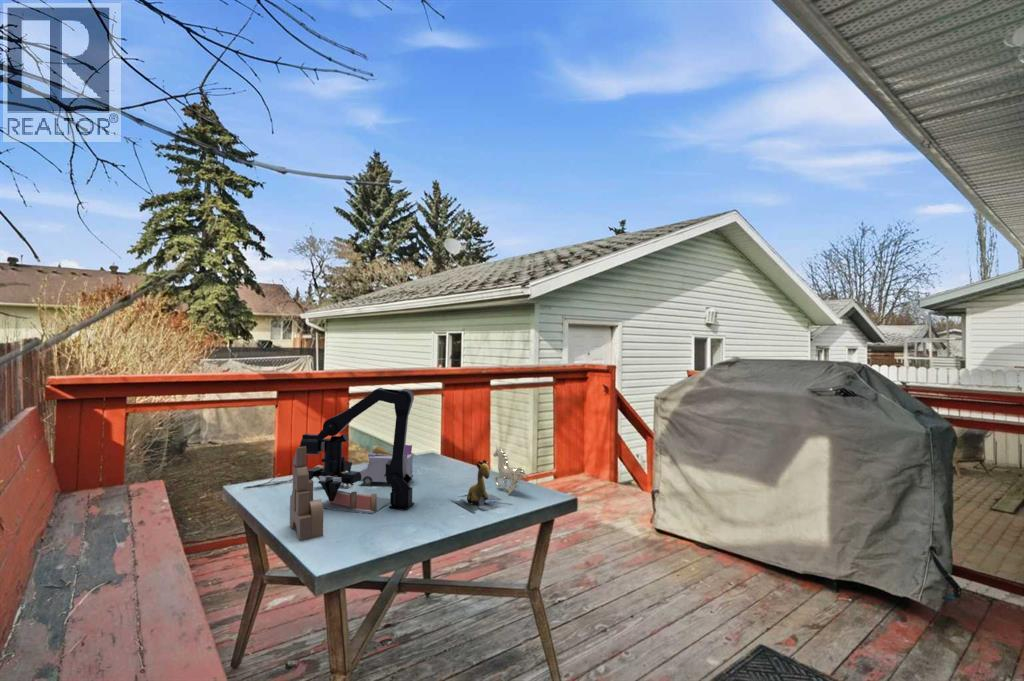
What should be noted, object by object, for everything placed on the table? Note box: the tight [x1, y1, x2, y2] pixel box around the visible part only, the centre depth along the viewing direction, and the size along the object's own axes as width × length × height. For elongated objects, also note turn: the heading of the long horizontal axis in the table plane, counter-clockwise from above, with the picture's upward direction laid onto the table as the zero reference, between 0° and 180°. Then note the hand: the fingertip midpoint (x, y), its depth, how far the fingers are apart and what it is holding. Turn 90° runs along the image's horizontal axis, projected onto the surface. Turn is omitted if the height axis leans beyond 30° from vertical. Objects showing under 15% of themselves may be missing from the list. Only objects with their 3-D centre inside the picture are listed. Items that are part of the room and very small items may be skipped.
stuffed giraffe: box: [449, 459, 514, 515], centre depth 174 cm, size 16×18×16 cm
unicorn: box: [493, 444, 527, 496], centre depth 184 cm, size 20×4×17 cm, turn 37°
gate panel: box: [328, 489, 351, 507], centre depth 167 cm, size 10×1×4 cm, turn 62°
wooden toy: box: [289, 446, 324, 541], centre depth 146 cm, size 16×7×25 cm, turn 35°
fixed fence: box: [350, 491, 378, 511], centre depth 163 cm, size 9×2×6 cm, turn 75°
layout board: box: [322, 496, 390, 515], centre depth 170 cm, size 21×15×1 cm
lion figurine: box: [313, 464, 355, 489], centre depth 187 cm, size 15×5×9 cm, turn 106°
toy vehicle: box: [359, 444, 414, 486], centre depth 193 cm, size 9×20×15 cm, turn 88°
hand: (331, 501), depth 166 cm, fingers closed
